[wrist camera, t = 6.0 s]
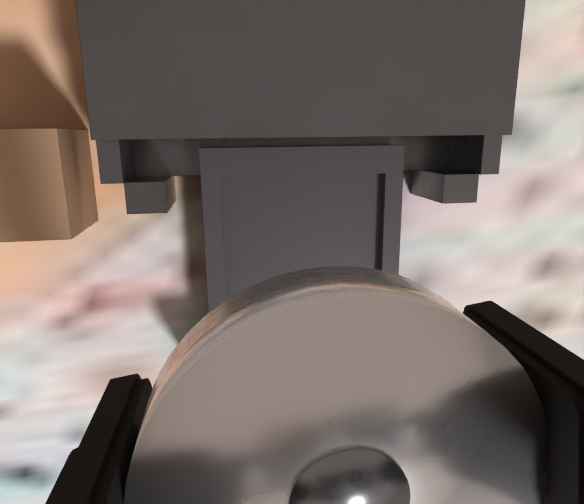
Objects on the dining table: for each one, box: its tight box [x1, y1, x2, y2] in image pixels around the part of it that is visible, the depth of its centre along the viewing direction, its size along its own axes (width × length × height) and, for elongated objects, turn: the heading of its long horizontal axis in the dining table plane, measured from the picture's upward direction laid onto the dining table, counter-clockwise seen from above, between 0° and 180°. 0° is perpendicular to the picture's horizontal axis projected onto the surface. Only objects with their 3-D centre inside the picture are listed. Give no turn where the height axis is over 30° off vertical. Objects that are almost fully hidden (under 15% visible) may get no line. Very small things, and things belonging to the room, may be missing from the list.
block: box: [0, 129, 98, 242], centre depth 23 cm, size 5×5×5 cm
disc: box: [124, 266, 548, 504], centre depth 8 cm, size 7×7×2 cm
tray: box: [199, 145, 405, 312], centre depth 26 cm, size 14×14×4 cm
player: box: [75, 0, 525, 214], centre depth 23 cm, size 20×15×5 cm
